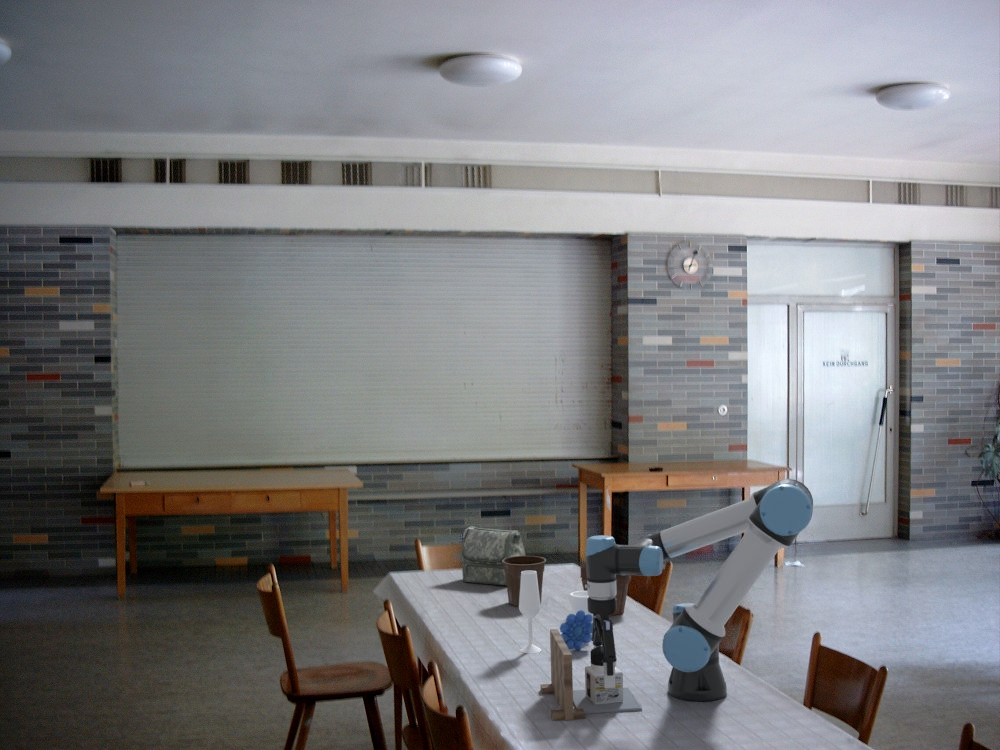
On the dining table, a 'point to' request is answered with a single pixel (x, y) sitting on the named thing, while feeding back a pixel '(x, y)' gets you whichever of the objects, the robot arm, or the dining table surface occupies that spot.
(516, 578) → the plant pot
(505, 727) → the dining table surface
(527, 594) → the champagne flute
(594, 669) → the container
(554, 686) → the screen
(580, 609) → the foam cup
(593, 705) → the mat
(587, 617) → the grapes
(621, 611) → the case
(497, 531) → the lunch bag
